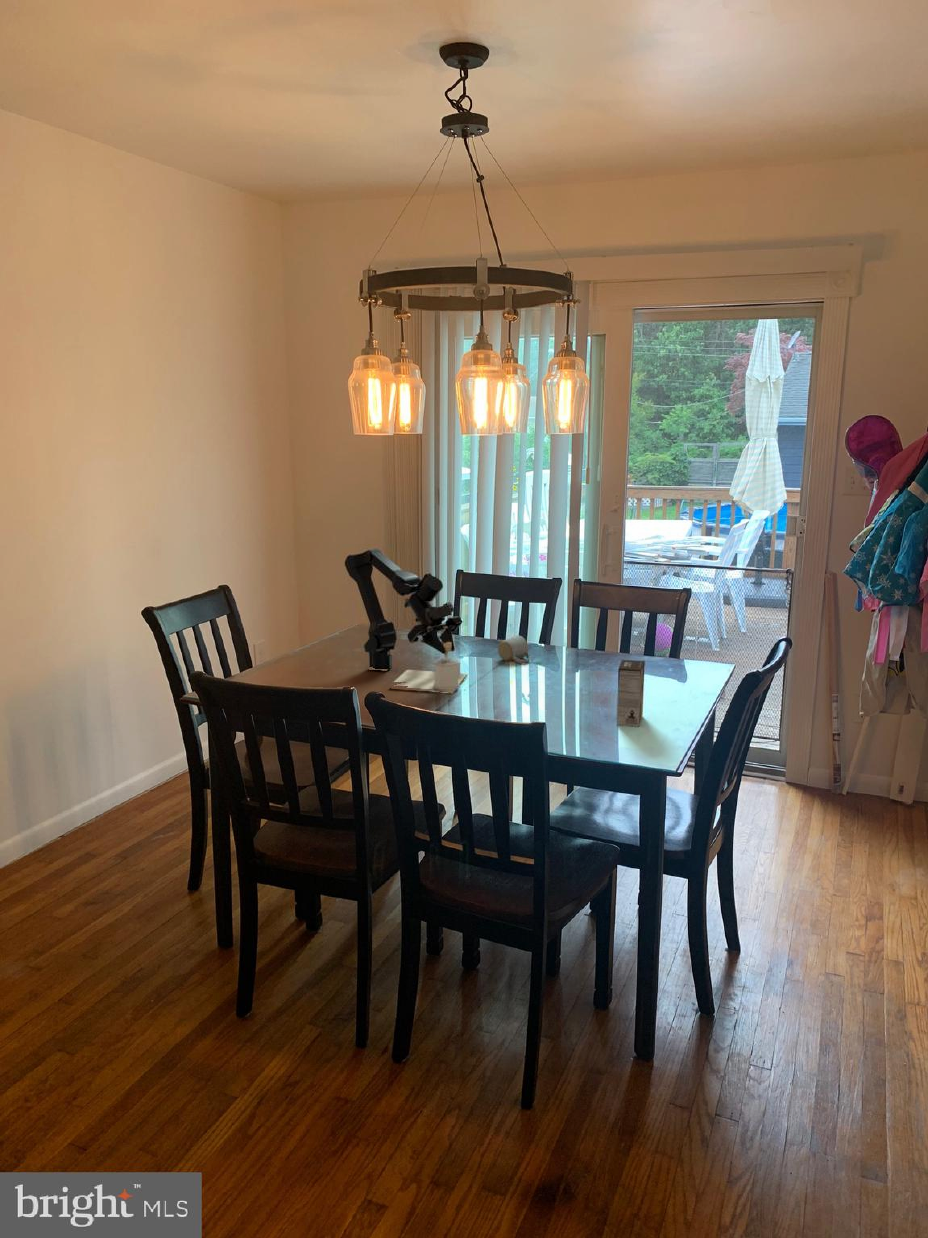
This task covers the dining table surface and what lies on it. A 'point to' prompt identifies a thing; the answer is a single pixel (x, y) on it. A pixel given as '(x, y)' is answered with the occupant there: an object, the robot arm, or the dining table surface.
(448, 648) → the plunger
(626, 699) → the coffee box
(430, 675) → the birch board
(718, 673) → the dining table surface
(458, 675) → the white faceted container
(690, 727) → the dining table surface
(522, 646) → the ceramic mug
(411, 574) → the robot arm
